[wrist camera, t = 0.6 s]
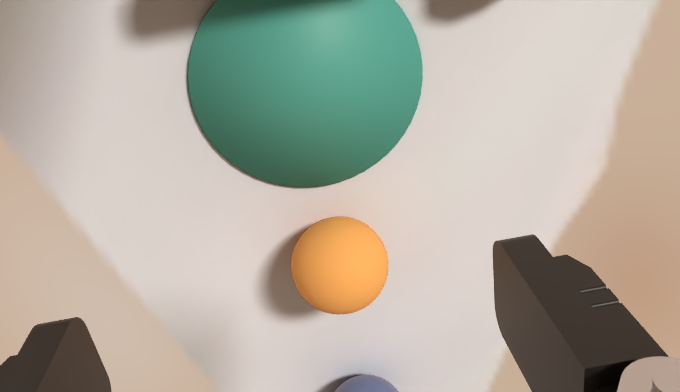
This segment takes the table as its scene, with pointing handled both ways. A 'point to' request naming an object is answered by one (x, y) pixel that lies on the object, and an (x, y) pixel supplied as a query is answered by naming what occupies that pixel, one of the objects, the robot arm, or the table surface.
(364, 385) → the blue ball
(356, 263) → the orange ball
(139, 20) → the table surface
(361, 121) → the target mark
